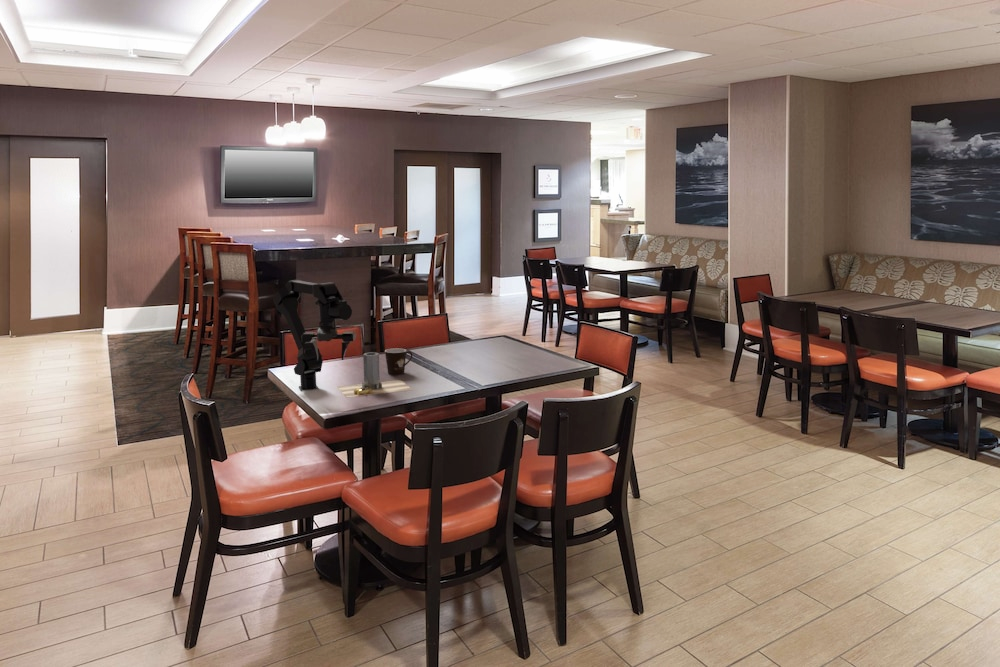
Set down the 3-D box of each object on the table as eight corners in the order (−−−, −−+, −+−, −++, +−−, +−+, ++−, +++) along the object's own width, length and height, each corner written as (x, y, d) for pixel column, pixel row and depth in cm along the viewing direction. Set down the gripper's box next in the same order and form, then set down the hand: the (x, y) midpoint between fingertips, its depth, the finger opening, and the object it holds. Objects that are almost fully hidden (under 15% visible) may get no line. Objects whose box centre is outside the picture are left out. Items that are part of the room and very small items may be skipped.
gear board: (337, 388, 284) (337, 386, 283) (400, 381, 294) (400, 380, 293) (346, 398, 269) (346, 397, 269) (413, 391, 279) (413, 389, 279)
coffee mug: (386, 377, 299) (386, 353, 298) (384, 372, 308) (383, 349, 306) (415, 375, 302) (415, 351, 301) (412, 371, 311) (411, 347, 309)
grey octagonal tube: (360, 390, 279) (359, 356, 276) (364, 385, 286) (363, 351, 284) (380, 390, 279) (379, 356, 276) (383, 385, 286) (382, 351, 283)
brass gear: (352, 391, 277) (351, 386, 276) (369, 389, 279) (369, 384, 279) (356, 396, 271) (356, 391, 270) (374, 394, 273) (374, 389, 273)
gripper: (295, 321, 261) (298, 365, 264) (349, 320, 261) (351, 364, 264) (303, 316, 272) (306, 358, 275) (355, 316, 272) (357, 357, 275)
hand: (330, 360), depth 272 cm, fingers open, 9 cm apart
